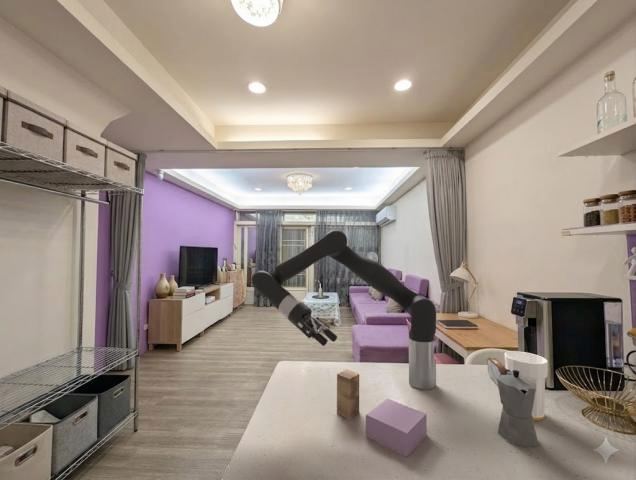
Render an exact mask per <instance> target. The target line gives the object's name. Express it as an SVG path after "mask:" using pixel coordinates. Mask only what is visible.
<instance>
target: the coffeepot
mask: <svg viewBox="0 0 636 480" xmlns="http://www.w3.org/2000/svg"><path fill="white" fill-rule="evenodd" d="M497 382H498V385H497V387H498V393H499V397H500V399H499V400H500V404H501V405H502V409H501V413H500V414H501V415H500V418H499V419H500V420H499V426H498V429H497V432H498V434H499V436H500V435H501V436H502V437H503V438H502V437H501V436H500V437H501V438H502V439H504V440H505V439H506V440H507V441H506V440H505V441H506V442H508V441H509V442H508V443H510V442H511V443H510V444H512V443H513V444H512V445H515V446H517V445H518V446H517V447H521V446H522V448H534V447H537V445H538V437H537V436H538V435H537V431H536V428H535V427H536V426H535V420H533V416H532V410H533V404H534V397H535V390H536V384H535V383H534V382H532V381H530V380H528V379H526V378H523V377H519V371H517V370H513V372H511V371H510V370H508V369H506V370H505V372H504V375H499V376H498V378H497Z"/></svg>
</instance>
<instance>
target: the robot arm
mask: <svg viewBox="0 0 636 480" xmlns="http://www.w3.org/2000/svg"><path fill="white" fill-rule="evenodd" d="M326 257H329V258H331V259H333V260H334V261H336V262H338V263H340V264H341V265H343V266H345V267H346V268H348V269H349V270H350V271H351V272H352V273H353V274H355V275H356V276H357V277H359V278H360V280H362V281H364V282H365V283H366V284H367V285H368V286H369V287H371V288H372V289H374V290H376V292H379V293H380V294H382V295H384V296H385V297H388V298H390V299H391V300H393V301H394V302H396V304H398V305H399V306H400V307H401V308H402V309H403V310H404V311H405V312H407V314H408V315H409V316H410V317H411V318H410V319H411V320H410V329H409V330H408V384H409V385H410V386H411V387H413V388H415V389H419V390H425V391H426V390H427V391H429V390H432V389H434V388H435V386H436V385H437V360H436V359H435V335H436V333H437V309H436V306H435V304H434V303H433V301H431V300H430V299H429V298H426V297H424V296H423V295H420V294H418V293H417V292H415V291H413V290H411V289H410V288H409V287H408V286H406V285H405V284H403V283H402V282H401V281H400V279H399V278H398V277H396V276H395V275H394V274H393V273H392V271H390V270H388V268H386V267H385V266H383V265H382V264H380V262H378V261H376V260H374V259H372V258H369V257H367V256H365V255H361V254H360V253H358V252H356V251H355V250H353V249H352V248H351V247H349V246H348V237H347V235H346V234H345V233H344V232H343V231H341V230H339V229H337V230H336V229H335V230H330V231H328V232H327V233H326V234H325V235H324V236H323V237H322V238H320V239H319V240H317V241H316V242H315V243H313V244H311V245H310V246H309V247H307V248H305V249H304V250H301V251H300V252H298V253H296V254H294V255H292V256H291V257H288V258H287V259H285V260H283V261H281V262H280V263H278V264H276V265H275V266H274V271H273V272H272V273H269V272H267V271H266V270H258V271H255V272H254V274H252V276H251V284H252V287H253V288H254V290H255V291H256V294H257V295H259V296H261V297H262V296H263V297H266V298H267V300H268V301H269V302H270V304H271V305H272V306H273V307H274V308H275V309H276V310H277V311H279V312H280V313H281V315H282V316H283V317H284V318H286V319H287V320H288V321H289V322H290V323H291V324H293V326H295V327H296V328H297V329H298V330H299V331H300V332H301V333H303V334H304V335H305V336H306V337H307V338H308V339H311V338H312V339H314V340H316V341H317V342H318V343H319V344H320V345H322V346H323V347H325V346H326V345H327V343H328V339H329V340H330V341H332V343H333V342H336V340H337V339H338V335H337V334H335V332H333V331H332V330H331V329H330V328H331V326H330V325H329V324H327V322H325V321H324V320H322V319H321V318H320V317H319V316H316V317H313V316H312V311H313V310H312V309H311V308H310V307H308V305H307V304H305V303H304V302H303V301H302V300H300V299H299V298H298V297H296V296H295V295H294V294H292V293H290V291H288V290H287V289H286V288H284V286H282V285H284V284H285V283H286V282H287V281H289V280H290V279H292V278H294V277H296V276H297V275H299V274H301V273H302V272H304V271H305V270H307V269H308V268H310V267H311V266H312V265H314V264H315V263H316V262H318V261H320V260H322V259H324V258H326ZM325 336H326V337H327V338H328V339H327V338H326V337H325Z"/></svg>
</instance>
